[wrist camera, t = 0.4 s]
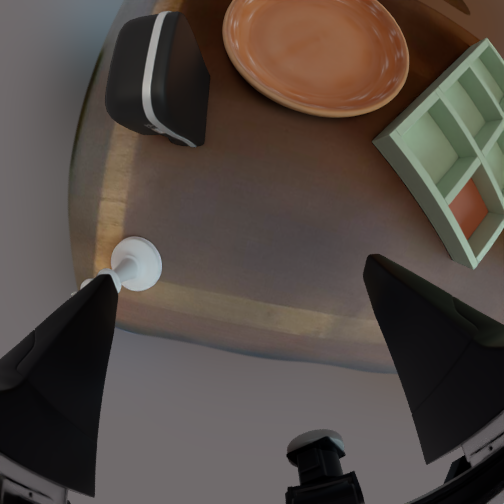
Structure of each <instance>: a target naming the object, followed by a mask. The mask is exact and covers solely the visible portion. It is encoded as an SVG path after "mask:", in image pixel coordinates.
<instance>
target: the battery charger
mask: <svg viewBox="0 0 504 504" xmlns="http://www.w3.org/2000/svg"><path fill="white" fill-rule="evenodd" d="M209 83H210V75H209V72H208V70H207V68H206V66H205V63H204V60H203V58H202V55H201V52H200V50H199V47H198V44H197V42H196V39H195V37H194V34H193V32H192V30H191V28H190V26H189V23H188V21H187V19H186V18H185V16H184V15H183V14H182V13H181V12H172V11H165V12H161V13H160V14H155V15H149V16H144V17H139V18H136V19H133V20H130V21H128V22H127V23H126V24H124V26H123V27H122V29H121V30H120V32H119V35H118V38H117V41H116V45H115V49H114V53H113V57H112V61H111V65H110V70H109V76H108V81H107V87H106V95H105V105H106V109H107V112H108V113H109V115H110V116H111V118H112V119H113V120H115V121H116V122H117V123H119V124H121V125H123V126H124V127H126V128H128V129H130V130H132V131H135V132H137V133H140V134H143V135H163V136H165V137H168V139H169V140H170V141H171V142H172V143H174V144H177V145H181V146H190V147H196V146H202V145H203V144H204V140H205V128H206V116H207V105H208V94H209Z"/></svg>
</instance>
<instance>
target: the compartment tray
mask: <svg viewBox="0 0 504 504" xmlns="http://www.w3.org/2000/svg"><path fill="white" fill-rule="evenodd" d="M372 143H373V144H374V145H375V146H376V147H377V149H378V150H379V151H380V152H381V154H382V155H383V156H384V157H385V159H386V160H387V161H388V162H389V164H390V165H391V166H392V167H393V169H394V170H395V171H396V173H397V174H398V175H399V177H400V178H401V179H402V181H403V182H404V184H405V185H406V186H407V188H408V189H409V191H410V192H411V193H412V195H413V196H414V198H415V199H416V201H417V202H418V204H419V205H420V207H421V208H422V210H423V211H424V213H425V214H426V216H427V217H428V219H429V220H430V222H431V224H432V225H433V227H434V228H435V230H436V232H437V233H438V235H439V237H440V238H441V240H442V242H443V244H444V245H445V247H446V249H447V251H448V252H449V254H450V256H451V258H452V260H453V261H455V262H457V263H459V264H462V265H464V266H466V267H468V268H471V269H473V270H474V269H475V268H476V266H477V265H478V263H479V262H480V261H481V260H482V258H483V257H484V256H485V254H486V253H487V251H488V250H489V249H490V247H491V246H492V244H493V243H494V242H495V240H496V239H497V237H498V236H499V234H500V233H501V231H502V230H503V228H504V61H503V59H502V58H501V56H500V55H499V53H498V52H497V51H496V49H495V48H494V46H493V45H492V44H491V42H490V41H489V40H488V38H485V39H483V40H481V41H479V42H478V43H476V44H474V45H472V46H470V47H469V48H468V49H467V50H466V51H465V52H464V53H463V54H462V55H461V56H460V57H459V58H458V59H457V60H456V61H455V62H454V63H453V64H452V65H451V66H450V67H449V68H448V69H447V70H445V71H444V72H443V73H442V74H441V75H440V76H439V77H438V78H437V79H436V80H435V81H434V82H433V83H432V84H431V85H430V86H429V87H428V88H427V89H426V90H425V91H424V92H423V93H422V94H421V95H419V96H418V97H417V98H416V99H415V100H414V101H413V102H412V103H411V104H410V105H409V106H408V107H407V108H406V109H405V110H404V111H403V112H402V113H401V114H400V115H399V116H398V117H397V118H396V119H394V120H393V121H392V122H391V123H390V124H389V125H388V126H387V127H386V128H385V129H384V130H383V131H382V132H381V133H380V134H379V135H378V136H377V137H376V138H375V139H374V140H373V141H372Z"/></svg>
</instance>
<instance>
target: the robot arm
mask: <svg viewBox="0 0 504 504" xmlns="http://www.w3.org/2000/svg"><path fill="white" fill-rule="evenodd" d="M363 279H364V282H365V286H366V289H367V292H368V295H369V298H370V301H371V305H372V308H373V311H374V314H375V316H376V319H377V321H378V324H379V326H380V329H381V331H382V333H383V336H384V338H385V341H386V343H387V346H388V348H389V351H390V354H391V356H392V359H393V361H394V364H395V367H396V370H397V372H398V375H399V378H400V380H401V383H402V386H403V389H404V392H405V395H406V398H407V401H408V404H409V407H410V410H411V413H412V417H413V420H414V423H415V426H416V430H417V433H418V437H419V440H420V444H421V448H422V451H423V455H424V459H425V462H426V464H427V465H428V464H430V463H432V462H434V461H436V460H438V459H439V458H442V457H443V456H445V455H447V454H449V453H451V452H452V451H454V450H456V449H458V448H460V447H461V446H462V449H463V451H464V454H465V455H464V456H462V457H461V458H459V459H457V460H456V461H454V462H452V464H451V467H450V470H449V472H448V474H447V477H446V479H445V482H444V484H443V485H441V486H440V487H438V488H436V489H434V490H432V491H430V492H428V493H427V494H424V495H422V496H420V497H418V498H416V499H414V500H412V501H410V502H407V503H405V504H504V325H503V324H501V323H499V322H497V321H496V320H494V319H492V318H490V317H488V316H486V315H485V314H483V313H481V312H479V311H477V310H476V309H474V308H472V307H470V306H469V305H467V304H465V303H464V302H462V301H460V300H459V299H457V298H455V297H452V295H450V294H449V293H447V292H445V291H444V290H442V289H440V288H439V287H437V286H435V285H434V284H432V283H430V282H428V281H427V280H425V279H423V278H422V277H420V276H418V275H416V274H415V273H413V272H411V271H409V270H407V269H406V268H404V267H402V266H400V265H399V264H397V263H395V262H393V261H391V260H389V259H388V258H386V257H384V256H382V255H380V254H370V255H368V257H367V260H366V264H365V268H364V272H363ZM117 303H118V292H117V289H116V287H115V284H114V281H113V279H112V276H111V275H110V274H100V275H98V276H97V277H95V278H94V279H93V280H92V281H90V282H89V283H88V284H87V285H85V286H84V287H83V288H82V289H81V290H79V291H78V292H77V293H76V294H74V295H73V296H72V297H71V298H70V299H69V300H67V301H66V302H65V303H64V304H63V305H61V306H60V307H59V308H58V309H57V310H56V311H54V312H53V313H52V314H51V315H50V316H49V317H48V318H46V320H44V321H43V322H42V323H41V324H40V325H39V326H37V327H36V328H35V330H33V331H32V332H31V333H30V334H29V335H28V336H27V337H25V338H24V339H23V340H22V341H21V342H20V343H19V344H18V345H16V346H15V347H14V348H13V349H12V350H10V351H9V352H8V353H7V354H6V355H4V356H3V357H2V358H1V359H0V504H70V502H69V501H68V500H67V497H68V490H70V491H73V492H76V493H79V494H83V495H86V496H90V497H94V496H95V467H96V451H97V438H98V428H99V418H100V411H101V403H102V396H103V389H104V383H105V377H106V371H107V366H108V360H109V355H110V350H111V345H112V340H113V334H114V328H115V319H116V311H117ZM345 455H346V454H345V452H344V451H343V450H342V449H341V448H340V447H339V446H338V445H337V444H336V443H335V442H334V441H333V440H332V439H331V438H330V437H328V436H325V437H322V438H320V439H318V440H316V441H314V442H312V443H310V444H307V445H305V446H303V447H301V448H298V449H296V450H294V451H291V452H289V453H287V454H286V457H287V458H288V459H289V460H291V461H292V462H293V463H295V464H296V465H297V466H298V472H299V481H300V486H295V487H288V492H286V493H285V497H286V504H365V503H364V498H363V494H362V491H361V488H360V485H359V482H358V480H357V477H356V474H355V472H354V471H352V472H350V473H347V474H345V475H343V472H342V469H341V464H340V461H339V459H340V458H342V457H344V456H345Z"/></svg>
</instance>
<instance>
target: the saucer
mask: <svg viewBox="0 0 504 504" xmlns="http://www.w3.org/2000/svg"><path fill="white" fill-rule="evenodd" d="M222 32H223V41H224V46H225V49H226V51H227V54H228V56H229V58H230V60H231V62H232V63H233V65H234V66H235V68H236V69H237V71H238V72H239V73H240V75H241V76H242V77H243V78H244V79H245V80H246V81H247V82H248V83H249V84H250V85H251V86H252V87H253V88H255V89H256V90H257V91H258V92H260V93H261V94H263V95H264V96H266V97H267V98H269V99H271V100H273V101H274V102H276V103H278V104H280V105H282V106H285V107H287V108H290V109H292V110H295V111H298V112H301V113H305V114H309V115H314V116H320V117H329V118H343V117H352V116H357V115H362V114H365V113H369V112H372V111H374V110H377V109H379V108H381V107H382V106H384V105H386V104H387V103H389V102H390V101H391V100H392V99H393V98H394V97H395V96H396V95H397V94H398V93H399V91H400V90H401V89H402V87H403V85H404V83H405V81H406V79H407V75H408V71H409V53H408V48H407V44H406V41H405V38H404V36H403V34H402V31H401V29H400V28H399V26H398V24H397V23H396V21H395V20H394V18H393V17H392V16H391V14H390V13H389V12H388V11H387V10H386V9H385V8H384V7H383V6H382V5H381V4H380V3H379V2H378V1H377V0H233V1H232V2H231V4H230V6H229V7H228V9H227V11H226V14H225V17H224V21H223V30H222Z"/></svg>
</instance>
